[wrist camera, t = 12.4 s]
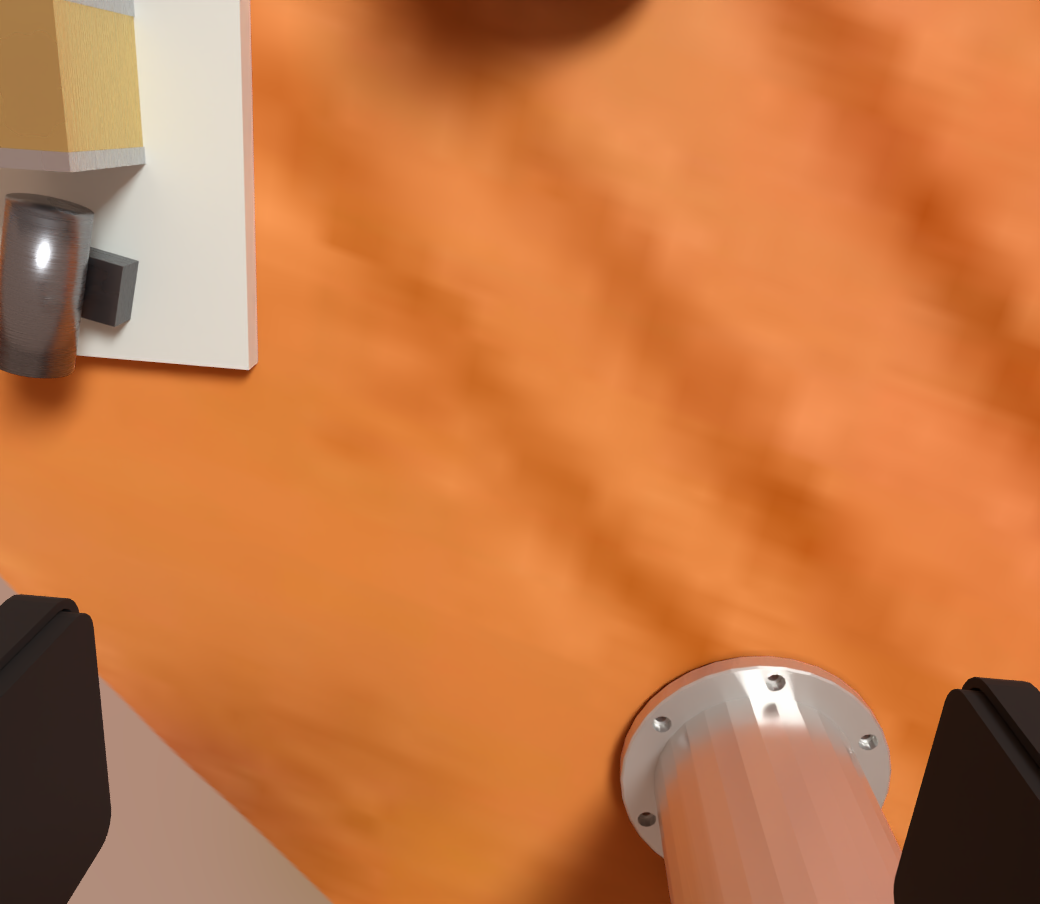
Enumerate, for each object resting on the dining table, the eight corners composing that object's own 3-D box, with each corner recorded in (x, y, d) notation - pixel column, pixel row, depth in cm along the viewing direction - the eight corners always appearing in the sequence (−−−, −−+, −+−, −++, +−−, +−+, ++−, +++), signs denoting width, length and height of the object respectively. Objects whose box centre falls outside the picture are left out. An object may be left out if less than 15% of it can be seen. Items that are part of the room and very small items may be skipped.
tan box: (12, -10, 32) (-95, -35, 27) (133, -2, 32) (50, -26, 27) (32, 155, 34) (-65, 163, 29) (145, 163, 34) (70, 172, 29)
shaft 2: (124, 361, 37) (72, 390, 33) (15, 330, 37) (-49, 356, 33) (145, 215, 35) (93, 228, 31) (31, 181, 35) (-36, 189, 31)
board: (258, 362, 38) (248, 370, 37) (-29, 338, 38) (-47, 344, 37) (244, -243, 31) (233, -256, 30) (-110, -272, 31) (-135, -286, 30)
